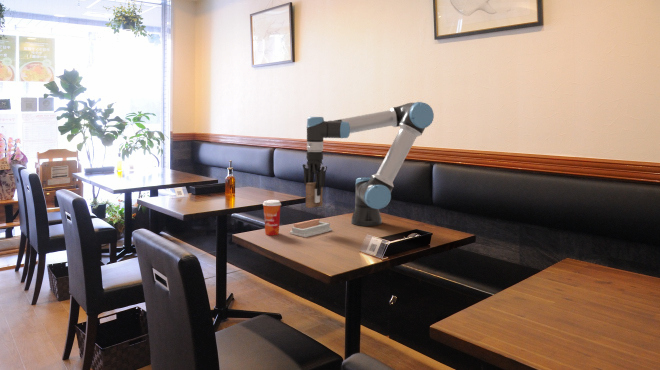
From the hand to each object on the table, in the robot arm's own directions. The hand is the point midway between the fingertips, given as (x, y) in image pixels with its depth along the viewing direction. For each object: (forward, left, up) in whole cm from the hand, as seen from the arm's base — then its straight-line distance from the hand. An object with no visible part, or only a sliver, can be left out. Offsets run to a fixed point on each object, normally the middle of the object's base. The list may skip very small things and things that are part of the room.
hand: (314, 201), depth 224 cm
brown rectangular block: (0, 0, -2) cm, 2 cm away
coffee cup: (+17, -10, -14) cm, 24 cm away
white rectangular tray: (+2, 0, -14) cm, 14 cm away
